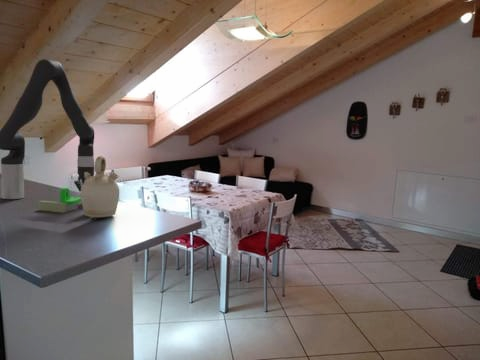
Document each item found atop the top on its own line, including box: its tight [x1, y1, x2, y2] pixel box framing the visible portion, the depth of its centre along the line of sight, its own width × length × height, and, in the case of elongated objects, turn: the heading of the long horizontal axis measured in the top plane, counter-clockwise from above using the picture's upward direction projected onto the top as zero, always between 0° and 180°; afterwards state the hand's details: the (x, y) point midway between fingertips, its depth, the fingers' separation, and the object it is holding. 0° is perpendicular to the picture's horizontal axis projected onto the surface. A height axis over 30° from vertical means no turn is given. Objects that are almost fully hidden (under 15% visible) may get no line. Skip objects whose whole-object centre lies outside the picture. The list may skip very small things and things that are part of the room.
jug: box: [80, 155, 120, 218], centre depth 147 cm, size 15×16×25 cm
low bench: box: [38, 200, 79, 214], centre depth 155 cm, size 13×9×4 cm
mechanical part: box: [59, 187, 82, 205], centre depth 172 cm, size 12×6×8 cm, turn 3°
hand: (86, 200), depth 171 cm, fingers closed
